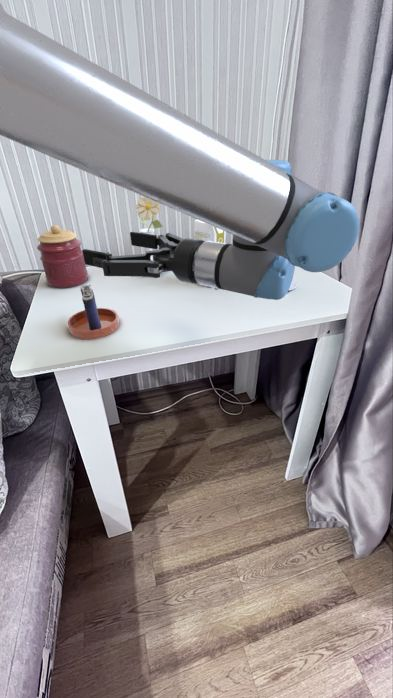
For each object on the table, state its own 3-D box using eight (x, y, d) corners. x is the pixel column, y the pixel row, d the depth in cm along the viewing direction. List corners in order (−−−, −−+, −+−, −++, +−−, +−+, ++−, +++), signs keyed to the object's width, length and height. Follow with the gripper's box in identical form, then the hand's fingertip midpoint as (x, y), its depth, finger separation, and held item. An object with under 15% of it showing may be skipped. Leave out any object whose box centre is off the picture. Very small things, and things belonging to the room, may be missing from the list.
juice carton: (208, 275, 109) (208, 215, 98) (227, 282, 103) (229, 219, 93) (191, 281, 104) (190, 219, 94) (211, 289, 99) (211, 224, 88)
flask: (87, 317, 84) (78, 278, 78) (98, 315, 85) (90, 277, 79) (90, 335, 77) (80, 293, 71) (103, 332, 78) (94, 291, 72)
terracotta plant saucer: (95, 344, 74) (93, 336, 73) (59, 331, 79) (57, 323, 78) (128, 321, 83) (127, 314, 82) (94, 311, 88) (93, 304, 87)
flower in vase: (127, 271, 113) (116, 193, 98) (152, 263, 119) (145, 188, 105) (152, 280, 105) (144, 197, 91) (177, 271, 112) (173, 192, 98)
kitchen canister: (54, 274, 111) (39, 220, 102) (92, 272, 112) (81, 219, 102) (41, 289, 101) (24, 231, 91) (83, 287, 101) (70, 229, 91)
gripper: (162, 311, 49) (66, 286, 58) (231, 262, 67) (149, 248, 76) (158, 264, 45) (55, 244, 54) (232, 224, 63) (145, 215, 72)
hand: (110, 246), depth 65 cm, fingers open, 13 cm apart
